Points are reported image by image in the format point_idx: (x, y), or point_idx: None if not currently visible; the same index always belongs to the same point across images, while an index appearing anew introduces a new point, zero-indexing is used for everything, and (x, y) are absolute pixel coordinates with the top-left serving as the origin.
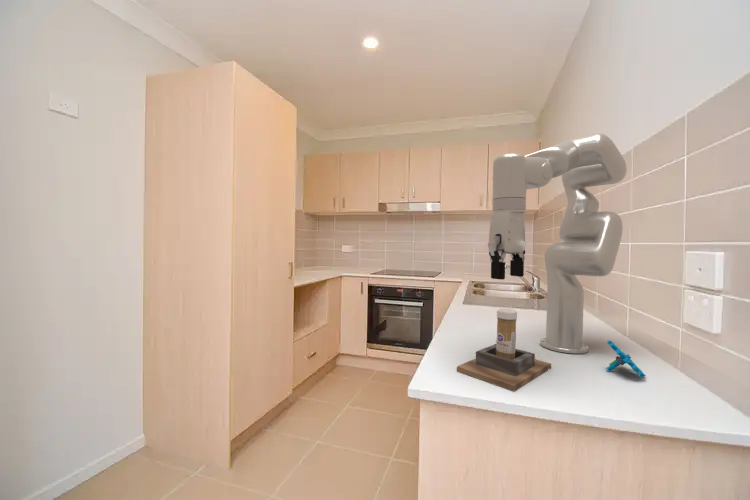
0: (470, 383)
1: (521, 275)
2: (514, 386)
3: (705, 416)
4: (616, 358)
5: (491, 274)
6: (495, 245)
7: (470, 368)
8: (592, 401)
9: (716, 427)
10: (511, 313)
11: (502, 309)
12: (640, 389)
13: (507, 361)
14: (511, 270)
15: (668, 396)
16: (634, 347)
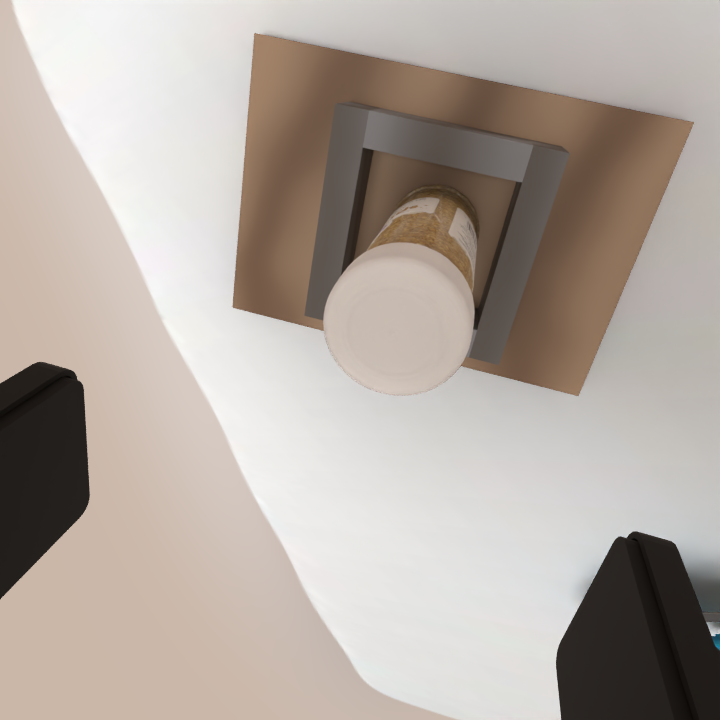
0: (191, 146)
1: (556, 659)
2: (235, 306)
3: (417, 668)
4: (707, 617)
5: (7, 387)
6: None
7: (275, 105)
8: (333, 489)
9: (368, 665)
10: (343, 368)
11: (396, 299)
12: (519, 601)
13: (310, 277)
14: (631, 609)
15: (505, 643)
16: None
